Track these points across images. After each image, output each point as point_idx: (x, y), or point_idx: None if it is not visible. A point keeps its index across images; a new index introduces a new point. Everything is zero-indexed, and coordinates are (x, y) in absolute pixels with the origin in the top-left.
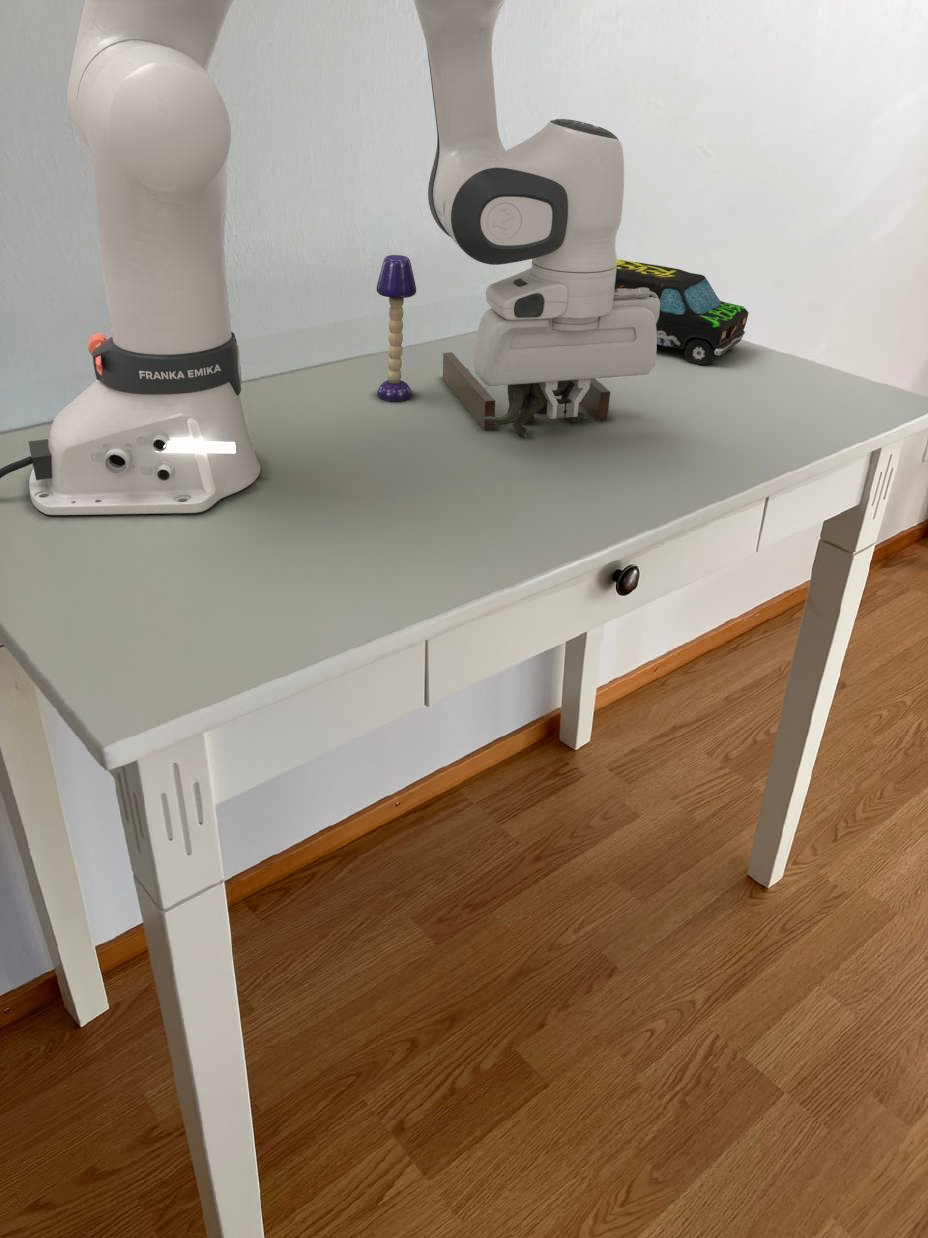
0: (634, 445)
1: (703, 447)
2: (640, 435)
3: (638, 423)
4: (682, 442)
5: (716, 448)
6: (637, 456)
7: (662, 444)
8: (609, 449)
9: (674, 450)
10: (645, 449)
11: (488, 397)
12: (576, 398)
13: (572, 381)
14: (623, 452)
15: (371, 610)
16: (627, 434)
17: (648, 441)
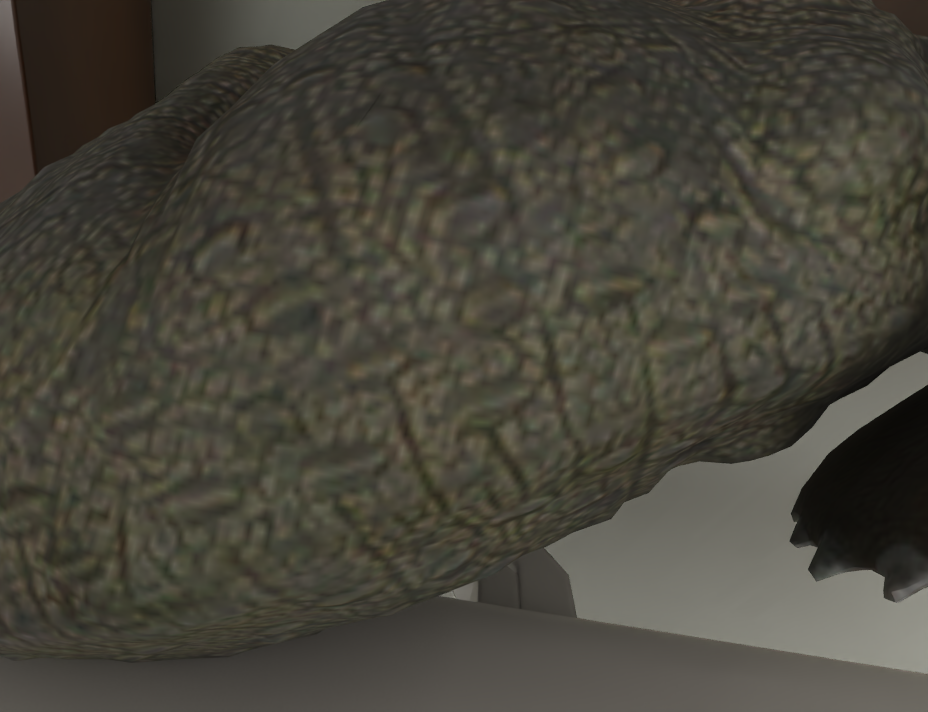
0: (656, 554)
1: (857, 643)
2: (754, 495)
3: (861, 394)
4: (835, 593)
5: (887, 662)
6: (595, 619)
7: (756, 582)
8: (546, 548)
9: (748, 628)
10: (665, 590)
11: (3, 133)
12: (453, 591)
13: (473, 588)
14: (575, 582)
15: None
16: (716, 469)
17: (733, 546)
